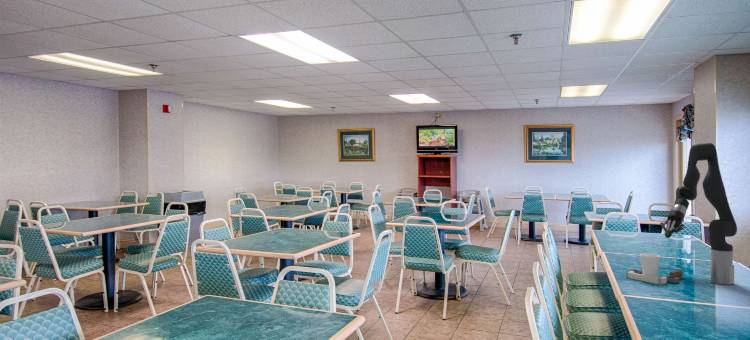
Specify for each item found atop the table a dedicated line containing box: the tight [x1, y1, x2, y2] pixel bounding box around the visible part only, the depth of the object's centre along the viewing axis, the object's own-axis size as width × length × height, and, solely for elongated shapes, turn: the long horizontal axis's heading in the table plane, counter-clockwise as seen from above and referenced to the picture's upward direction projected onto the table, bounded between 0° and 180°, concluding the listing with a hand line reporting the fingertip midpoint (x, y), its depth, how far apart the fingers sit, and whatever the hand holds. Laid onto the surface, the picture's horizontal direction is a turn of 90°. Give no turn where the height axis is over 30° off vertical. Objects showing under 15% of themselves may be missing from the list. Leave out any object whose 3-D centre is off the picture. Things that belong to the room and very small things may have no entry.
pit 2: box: [665, 275, 681, 285], centre depth 248 cm, size 6×6×2 cm
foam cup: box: [639, 253, 661, 277], centre depth 254 cm, size 10×9×13 cm
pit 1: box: [627, 268, 642, 274], centre depth 263 cm, size 6×6×2 cm
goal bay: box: [625, 271, 668, 285], centre depth 252 cm, size 18×6×3 cm, turn 34°
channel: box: [640, 267, 683, 279], centre depth 261 cm, size 17×10×4 cm, turn 34°
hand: (667, 236), depth 265 cm, fingers closed
